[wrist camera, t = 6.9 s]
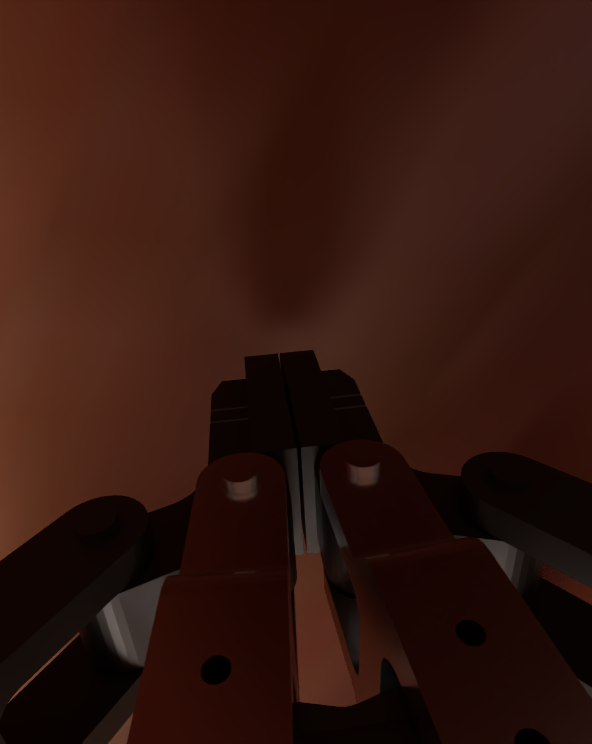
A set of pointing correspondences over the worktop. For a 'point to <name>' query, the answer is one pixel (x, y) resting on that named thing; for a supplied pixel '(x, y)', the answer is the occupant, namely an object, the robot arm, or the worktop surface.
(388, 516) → the robot arm
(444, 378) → the worktop surface
